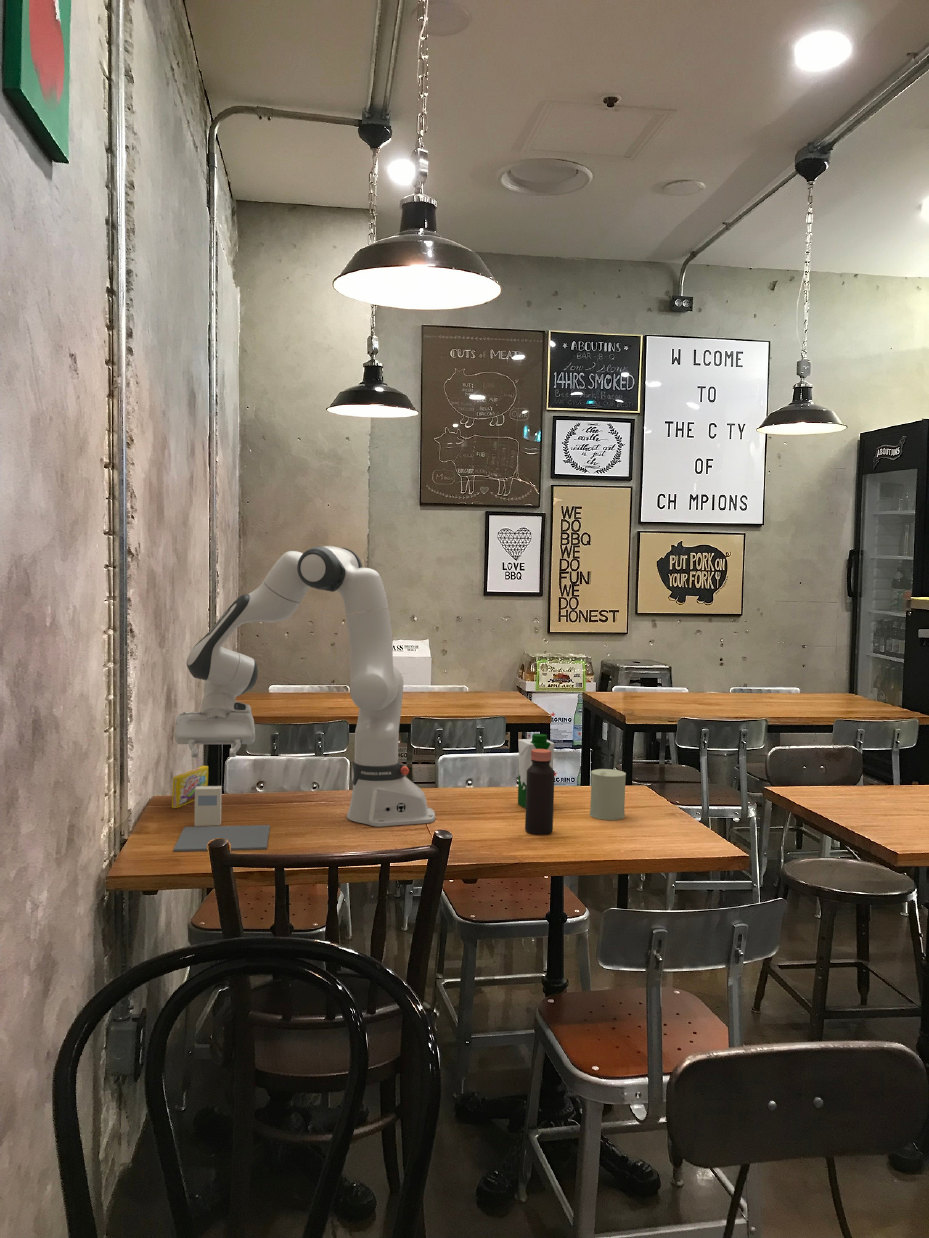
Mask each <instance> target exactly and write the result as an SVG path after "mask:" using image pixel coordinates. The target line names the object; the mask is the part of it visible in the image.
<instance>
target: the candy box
mask: <svg viewBox="0 0 929 1238" xmlns="http://www.w3.org/2000/svg"><path fill="white" fill-rule="evenodd" d="M208 784H209V766H208V765H201V766H198V767H196V768H193V769H190V770H188V771H186V772H183V773H179V774H178V775H175V776H173V777H172V792H171V807H172V808H171V809H175V808H177V809H179V808H182V807H183V805H184V806H186V805H188V804H190V803H192V802H195V788H196V786H209V785H208ZM181 806H182V807H181ZM178 807H179V808H178Z"/></svg>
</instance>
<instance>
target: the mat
mask: <svg viewBox="0 0 929 1238" xmlns="http://www.w3.org/2000/svg"><path fill="white" fill-rule="evenodd" d="M270 830H271V824H267V825H266V824H264V825H263V824H261V825H260V824H256V825H254V824H253V825H252V824H251V825H249V824H248V825H220V826H184V827H183V829H182V831H181V834H180V835H179V837H178V838H177V839H178V840H177V841H176V843H175V845H174V847H173V851H172V852H174V853H176V852H179V851H182V852H208V851H207V844H208V842H209V841H210V840H212V839H216V838H224V839H228V841H229V842H230V844H231V850H230V851H247V850H248V851H253V850H256V849H257V850H268V849H267V848H268V843H269V837H270V836H269V835H270Z"/></svg>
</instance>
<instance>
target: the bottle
mask: <svg viewBox="0 0 929 1238" xmlns="http://www.w3.org/2000/svg"><path fill="white" fill-rule="evenodd" d="M531 759H532V760H531V761H532V765H531V766H530V767H529V768H528V770H527V781H526V809H525V821H524V822H525V823H524V830H525V831H526V833H528V834H531V835H537V836H538V835H539V836H540V835H541V836H545V835H549V834H552V833H553V831H554V803H555V802H554V800H555V799H554V797H555V770H554V768H553V769H552V768H551V767H550V762H551V761H550V760H551V751H550V750H547V749H533V750H531Z"/></svg>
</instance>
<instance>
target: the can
mask: <svg viewBox="0 0 929 1238" xmlns="http://www.w3.org/2000/svg"><path fill="white" fill-rule="evenodd" d="M590 775H591V776H590V777H591V779H590V783H591V784H590V786H591V787H590V810H589V816H590V818H591V817H592V818H593V819H595V820H600V821H619V820H623V819H624V818H625V817H626V815H625V800H626V799H625V798H626V777H627V773H626V772H624V771H622V770H619V769H609V768H598V769H593V770H591V773H590Z"/></svg>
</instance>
